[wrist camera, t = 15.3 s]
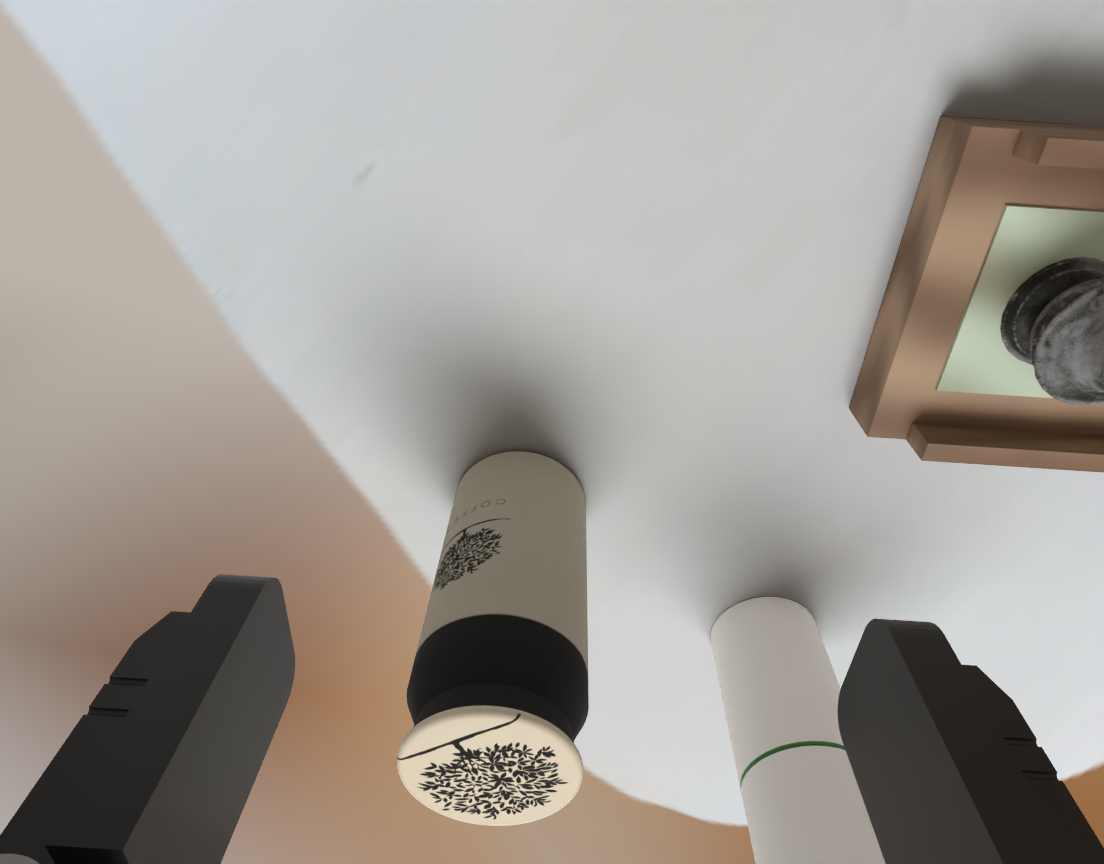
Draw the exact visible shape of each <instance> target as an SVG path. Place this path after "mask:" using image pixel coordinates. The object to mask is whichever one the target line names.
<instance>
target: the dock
mask: <svg viewBox="0 0 1104 864" xmlns="http://www.w3.org/2000/svg"><path fill="white" fill-rule="evenodd" d="M1077 257H1085V258H1096V259H1098V260H1100V261H1103V262H1104V127H1100V126H1085V125H1070V124H1055V123H1040V122H1024V121H1009V120H994V119H979V118H964V117H948V116H941V117H940V120H939V123H938V127H937V130H936V133H935V136H934V139H933V143H932V146H931V149H930V152H929V155H928V158H927V162H926V165H925V168H924V171H923V174H922V178H921V181H920V184H919V187H918V190H917V193H916V197H915V200H914V203H913V206H912V209H911V212H910V216H909V219H908V222H907V225H906V228H905V232H904V235H903V238H902V241H901V244H900V247H899V251H898V254H897V257H896V260H895V263H894V267H893V270H892V273H891V276H890V279H889V282H888V286H887V289H886V292H885V295H884V298H883V302H882V305H881V308H880V311H879V314H878V317H877V321H876V324H875V327H874V330H873V333H872V336H871V340H870V343H869V346H868V349H867V352H866V356H865V359H864V362H863V365H862V368H861V371H860V375H859V378H858V381H857V384H856V387H855V391H854V394H853V397H852V400H851V403H850V406H849V409H850V411H851V412H852V414H853V415H854V417H855V418H856V420H857V421H858V423H859V424H860V426H861V427H862V429H863V430H864V432H865V434H866V435H867V437H881V438H896V439H906V440H907V441H908V443H909V444H910V445H911V447H912V448H913V449H914V451H915V452H916V453H917V455H918V456H919V458H920V459H921V460H922V461H938V462H953V463H968V464H984V465H999V466H1014V467H1030V468H1045V469H1060V470H1076V471H1091V472H1104V404H1096V405H1088V406H1082V405H1071V404H1067V403H1064V402H1061V401H1059V400H1056V399H1054V398H1053V397H1052V396H1050V395H1049V394H1048V393H1047V392H1045V391H1044V390H1043V389H1042V388H1041V386H1040V384H1039V382H1038V380H1037V379H1036V377H1035V370H1034V366H1033V365H1031V364H1028V363H1026V362H1023V361H1020V360H1018V359H1017V358H1016V357H1015V356H1013V355H1012V354H1011V353H1010V352H1009V351H1008V350H1007V348H1006V347H1005V345H1004V343H1003V341H1002V337H1001V330H1000V326H1001V320H1002V314H1003V312H1004V310H1005V308H1006V305H1007V303H1008V301H1009V299H1010V298H1011V297H1012V295H1013V294H1014V293H1015V291H1016V290H1017V289H1018V287H1019V286H1020V285H1022V284H1023V283H1024V282H1025V281H1026V280H1027V279H1028V278H1029V277H1030V276H1031V275H1033V274H1035V273H1036V272H1038V271H1040V270H1041V269H1043V268H1044V267H1046V266H1048V265H1051V264H1053V263H1056V262H1059V261H1061V260H1064V259H1071V258H1077Z"/></svg>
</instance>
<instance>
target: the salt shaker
mask: <svg viewBox="0 0 1104 864" xmlns="http://www.w3.org/2000/svg"><path fill="white" fill-rule="evenodd" d="M1000 330H1001V337H1002V341H1003V343H1004V345H1005V347H1006V348H1007V350H1008V351H1009V352H1010V353H1011V354H1012V355H1013V356H1015V357H1016V358H1017V359H1018V360H1020V361H1023V362H1026V363H1028V364H1031V365H1033V366H1034V370H1035V377H1036V379H1037V380H1038V382H1039V384H1040V386H1041V388H1042V389H1043V390H1044V391H1045V392H1047V393H1048V394H1049V395H1050V396H1052V397H1053V398H1054V399H1056V400H1059V401H1061V402H1064V403H1067V404H1071V405H1082V406H1088V405H1096V404H1104V262H1103V261H1100V260H1098V259H1096V258H1085V257H1077V258H1071V259H1064V260H1061V261H1059V262H1056V263H1053V264H1051V265H1048V266H1046V267H1044V268H1043V269H1041V270H1040V271H1038V272H1036V273H1035V274H1033V275H1031V276H1030V277H1029V278H1028V279H1027V280H1026V281H1025V282H1024V283H1023V284H1022V285H1020V286H1019V287H1018V289H1017V290H1016V291H1015V293H1014V294H1013V295H1012V297H1011V298H1010V299H1009V301H1008V303H1007V305H1006V308H1005V310H1004V312H1003V314H1002V320H1001V326H1000Z"/></svg>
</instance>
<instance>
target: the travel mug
mask: <svg viewBox="0 0 1104 864" xmlns="http://www.w3.org/2000/svg"><path fill="white" fill-rule="evenodd" d="M407 703H408V708H409V711H410V713H411V716H412V719H413V722H414V727H413V728H412V729H411V730H410V731H409V733H407V735H406V736H405V738H404V739H403V741H402V743H401V745H400V748H399V750H398V755H397V767H398V772H399V775H400V778H401V780H402V782H403V784H404V785H405V787H406V788H407V789H408V791H409V792H410V793H411V794H412V795H413V796H414V797H415V798H416V799H417V800H418V801H420V802H421V803H422V804H424V805H425V806H427V807H428V808H430V809H432V810H434V811H436V812H438V813H440V814H442V815H444V816H447V817H450V818H453V819H456V820H459V821H463V822H467V823H473V824H479V825H491V826H505V825H516V824H523V823H528V822H532V821H536V820H539V819H542V818H544V817H546V816H549V815H551V814H553V813H555V812H557V811H558V810H560V809H561V808H563V807H564V806H565V805H566V804H568V803H569V801H571V800H572V798H573V797H574V796H575V795H576V793H577V791H578V790H579V788H580V785H581V782H582V778H583V763H582V759H581V756H580V753H579V751H578V749H577V748H576V746H575V744H574V740H575V738H576V736H577V735H578V733H579V732H580V730H581V728H582V727H583V725H584V723H585V721H586V718H587V715H588V636H587V560H586V501H585V496H584V492H583V490H582V487H581V485H580V483H579V482H578V480H577V479H576V477H575V476H574V475H573V474H572V473H571V472H570V471H569V470H568V469H567V468H566V467H564V466H563V465H562V464H560V463H559V462H557V461H555V460H553V459H551V458H549V457H546V456H543V455H541V454H537V453H532V452H524V451H511V452H503V453H499V454H495V455H492V456H489V457H487V458H485V459H483V460H481V461H479V462H478V463H476V464H475V465H474V466H472V467H471V468H470V469H469V470H468V471H467V472H466V473H465V475H464V476H463V477H462V479H461V481H460V483H459V485H458V488H457V491H456V495H455V499H454V503H453V507H452V511H451V515H450V519H449V524H448V528H447V532H446V536H445V540H444V544H443V548H442V552H441V556H440V560H439V564H438V568H437V572H436V576H435V580H434V584H433V588H432V592H431V596H430V600H429V604H428V609H427V612H426V616H425V620H424V624H423V628H422V633H421V636H420V640H419V644H418V649H417V653H416V657H415V661H414V665H413V669H412V673H411V677H410V681H409V685H408V689H407Z"/></svg>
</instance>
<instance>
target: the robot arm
mask: <svg viewBox="0 0 1104 864" xmlns="http://www.w3.org/2000/svg"><path fill="white" fill-rule="evenodd" d="M294 671H295V654H294V648H293V643H292V638H291V632H290V627H289V622H288V617H287V612H286V606H285V601H284V596H283V590H282V586H281V584H280V582H279V580H278V579H276V578H270V577H254V576H238V575H224V574H221V575H217V576H216V577H214V578H213V580H212V581H211V582H210V583H209V585H208V586H207V588H206V589H205V591H204V593H203V594H202V596H201V597H200V599H199V601H198V602H197V604H196V605H195V607H194V608H193V610H192V612H191V613H188V612H187V613H186V612H170V613H169V614H168V615H166V616H165V617H164V618H163V619H161V620H160V621H159V622H158V623H156V624H155V625H154V626H153V627H151V628H150V629H149V630H148V631H146V632H145V633H144V634H143V635H141V636H140V637H139V638H138V639H136V640H135V641H134V643H133V644H132V645H131V647H130V648H129V650H128V651H127V653H126V654H125V656H124V657H123V659H122V660H121V661H120V663H119V664H118V666H117V667H116V669H115V670H114V672H113V673H112V674H111V676H110V681H109V683H108V684H104V686H103V687H102V689H101V690H100V692H99V693H98V695H97V696H96V698H95V699H94V701H93V702H92V703H91V705H90V706H89V712H88V714H87V715H83V716H82V718H81V719H80V721H79V722H78V724H77V725H76V726H75V728H74V729H73V731H72V732H71V734H70V736H69V737H68V738H67V740H66V741H65V743H64V744H63V745H62V747H61V748H60V750H59V751H58V753H57V754H56V755H55V757H54V758H53V760H52V761H51V763H50V764H49V766H48V767H47V769H46V770H45V771H44V773H43V774H42V776H41V777H40V779H39V780H38V782H37V783H36V784H35V786H34V787H33V789H32V790H31V792H30V793H29V795H28V796H27V797H26V799H25V800H24V802H23V803H22V805H21V806H20V808H19V809H18V811H17V812H16V813H15V815H14V816H13V818H12V819H11V821H10V822H9V824H8V825H7V826H6V828H5V829H4V831H3V832H2V834H1V835H0V864H221V861H222V859H223V856H224V854H225V851H226V849H227V846H228V844H229V842H230V839H231V837H232V834H233V832H234V830H235V827H236V825H237V822H238V820H239V818H240V815H241V813H242V810H243V808H244V806H245V803H246V801H247V798H248V796H249V793H250V791H251V789H252V786H253V784H254V781H255V779H256V777H257V774H258V772H259V769H260V767H261V765H262V762H263V760H264V757H265V755H266V752H267V750H268V748H269V745H270V743H271V740H272V738H273V735H274V733H275V730H276V728H277V726H278V723H279V721H280V718H281V716H282V713H283V711H284V709H285V707H286V704H287V702H288V699H289V696H290V693H291V689H292V684H293V679H294ZM837 711H838V725H839V731H840V735H841V738H842V742H843V745H844V747H845V750H846V753H847V756H848V759H849V762H850V764H851V767H852V770H853V773H854V776H855V778H856V781H857V784H858V787H859V790H860V793H861V795H862V798H863V801H864V804H865V807H866V810H867V812H868V815H869V818H870V821H871V824H872V827H873V829H874V832H875V835H876V838H877V841H878V844H879V846H880V849H881V852H882V855H883V858H884V861H885V863H886V864H1104V848H1103V846H1102V845H1101V843H1100V841H1099V840H1098V838H1097V836H1096V835H1095V833H1094V831H1093V830H1092V828H1091V827H1090V825H1089V824H1088V822H1087V820H1086V819H1085V817H1084V815H1083V814H1082V812H1081V811H1080V809H1079V807H1078V806H1077V804H1076V802H1075V801H1074V799H1073V797H1072V796H1071V794H1070V793H1069V791H1068V789H1067V788H1066V786H1065V784H1064V783H1063V781H1059V780H1058V779H1057V775H1056V774H1057V771H1056V770H1055V768H1054V767H1053V765H1052V763H1051V762H1050V760H1049V758H1048V757H1047V755H1046V754H1045V752H1044V750H1043V749H1042V747H1038V746H1037V744H1036V740H1037V739H1036V737H1035V736H1034V734H1033V732H1032V731H1031V729H1030V728H1029V726H1028V724H1027V723H1026V721H1025V719H1024V718H1023V716H1022V715H1021V713H1020V711H1019V710H1018V708H1017V706H1016V705H1015V703H1014V702H1013V700H1012V699H1011V698H1010V697H1009V696H1008V695H1007V694H1006V693H1005V692H1003V691H1002V690H1001V689H1000V688H999V687H998V686H997V685H996V684H995V683H994V682H993V681H992V680H991V679H990V678H989V677H988V676H987V675H986V674H984V673H983V672H982V671H981V670H980V669H979V668H978V667H977V666H971V665H961V663H960V662H959V660H958V658H957V656H956V655H955V653H954V651H953V649H952V648H951V646H950V644H949V642H948V641H947V639H946V637H945V635H944V634H943V632H942V631H941V630H940V628H939V627H938V626H936V625H935V624H933V623H931V622H917V621H901V620H886V619H873V620H871V621H870V622H869V623H868V624H867V626H866V628H865V630H864V633H863V635H862V638H861V640H860V643H859V645H858V648H857V650H856V653H855V655H854V657H853V660H852V662H851V665H850V667H849V670H848V672H847V675H846V677H845V680H844V682H843V685H842V687H841V690H840V693H839V698H838V709H837Z"/></svg>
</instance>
